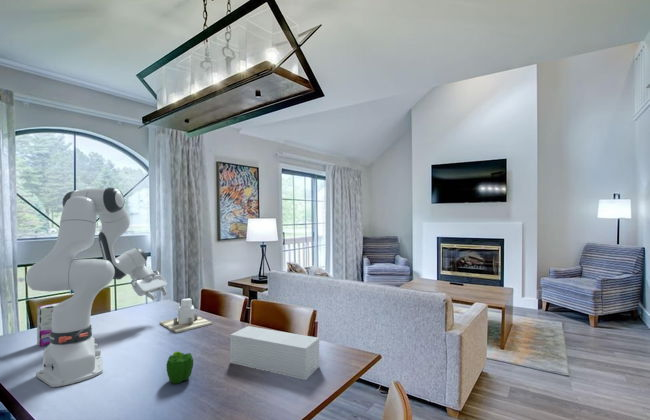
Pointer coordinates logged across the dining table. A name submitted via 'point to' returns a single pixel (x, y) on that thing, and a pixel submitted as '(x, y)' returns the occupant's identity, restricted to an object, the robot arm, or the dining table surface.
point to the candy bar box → (44, 324)
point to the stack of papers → (275, 351)
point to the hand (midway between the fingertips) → (160, 296)
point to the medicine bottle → (186, 310)
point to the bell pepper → (179, 367)
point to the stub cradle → (177, 327)
